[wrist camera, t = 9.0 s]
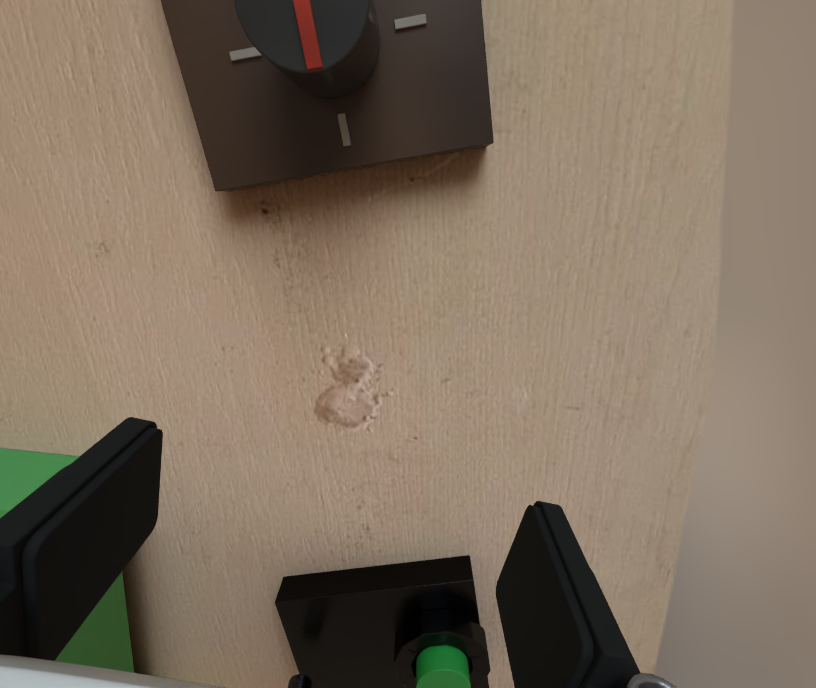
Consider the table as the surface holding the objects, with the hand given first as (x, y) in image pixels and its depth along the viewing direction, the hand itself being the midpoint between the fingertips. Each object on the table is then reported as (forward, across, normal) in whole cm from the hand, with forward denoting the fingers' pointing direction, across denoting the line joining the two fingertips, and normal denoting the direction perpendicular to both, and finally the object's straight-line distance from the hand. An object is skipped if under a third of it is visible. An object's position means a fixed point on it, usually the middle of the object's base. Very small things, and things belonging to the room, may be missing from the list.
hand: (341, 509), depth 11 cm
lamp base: (+16, -6, +24) cm, 29 cm away
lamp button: (+13, -9, +22) cm, 27 cm away
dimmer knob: (+14, +5, -13) cm, 20 cm away
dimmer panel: (+16, +5, -13) cm, 22 cm away
